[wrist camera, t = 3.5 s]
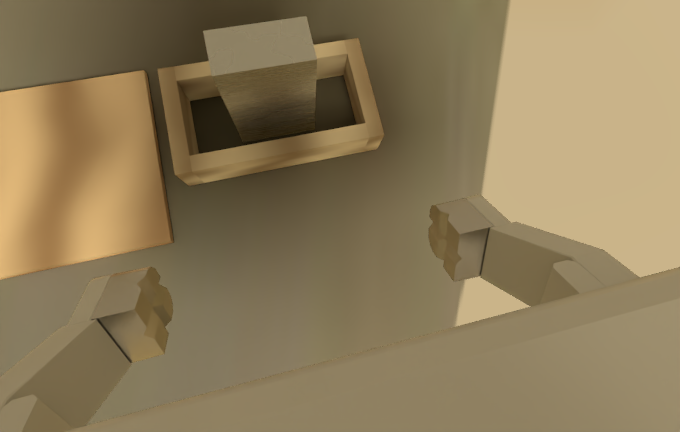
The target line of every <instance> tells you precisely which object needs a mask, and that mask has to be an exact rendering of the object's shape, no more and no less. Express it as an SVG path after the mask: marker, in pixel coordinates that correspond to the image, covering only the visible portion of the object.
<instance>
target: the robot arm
mask: <svg viewBox="0 0 680 432" xmlns="http://www.w3.org/2000/svg"><path fill="white" fill-rule="evenodd" d="M429 217H430V218H431V220H432V221H433V223H432V225H431V226H430V227H429V242H430V246H431V248H432V251H433V252H434V254H435V255H436V257H438V258H440V259H442V260H444V264H443V267H444V269H445V270H446V271H447V273H448V274H449V276H450V277H451V279H452V280H453V281H454V282H456V281H460V280H465V279H469V278H473V277H478V276H481V278H483V279H484V280H486V281H488V282H489V283H491V284H493V285H495V286H496V287H498V288H500V289H502V290H503V291H505V292H507V293H509V294H510V295H512V296H514V297H515V298H517V299H519V300H521V301H522V302H524V303H526V304H527V305H529V306H531V307H528V308H525V309H521V310H517V311H513V312H509V313H506V314H502V315H498V316H494V317H491V318H487V319H483V320H479V321H476V322H472V323H468V324H464V325H461V326H457V327H453V328H449V329H446V330H442V331H438V332H434V333H430V334H427V335H423V336H419V337H415V338H412V339H408V340H404V341H400V342H397V343H393V344H389V345H385V346H382V347H378V348H374V349H370V350H367V351H363V352H359V353H355V354H352V355H348V356H344V357H340V358H337V359H333V360H329V361H325V362H322V363H318V364H314V365H310V366H307V367H303V368H299V369H295V370H292V371H288V372H284V373H280V374H277V375H273V376H269V377H265V378H262V379H258V380H254V381H250V382H247V383H243V384H239V385H235V386H232V387H228V388H224V389H220V390H217V391H213V392H209V393H205V394H202V395H198V396H194V397H190V398H187V399H183V400H179V401H175V402H172V403H168V404H164V405H160V406H157V407H153V408H149V409H145V410H142V411H138V412H134V413H130V414H127V415H123V416H119V417H115V418H112V419H108V420H104V421H100V422H97V423H93V424H89V425H86V424H87V423H88V422H89V421H90V419H91V418H92V417H93V415H94V414H95V413H96V411H97V410H98V409H99V407H100V406H101V405H102V403H103V402H104V401H105V399H106V398H107V397H108V395H109V394H110V393H111V391H112V390H113V389H114V388H115V386H116V385H117V384H118V382H119V381H120V380H121V378H122V377H123V376H124V374H125V373H126V372H127V370H128V369H129V368H130V366H131V363H134V362H137V361H141V360H145V359H148V358H152V357H156V356H159V355H163V354H165V349H166V344H167V340H168V335H169V333H168V331H167V330H166V328H165V327H166V326H167V325H168V324H169V322H170V321H171V320H172V315H173V303H172V299H171V296H170V293H169V291H168V289H167V288H166V287H164V286H162V285H160V284H159V280H160V275H159V274H158V272H157V270H156V269H155V268H153V267H147V268H142V269H137V270H132V271H126V272H121V273H116V274H113V275H107V276H102V277H98V278H94V279H92V280H91V281H90V282H89V283H88V285H87V287H86V289H85V291H84V293H83V295H82V297H81V299H80V301H79V303H78V305H77V307H76V309H75V311H74V313H73V315H72V317H71V319H70V321H69V323H68V325H67V326H64V327H60V328H59V329H58V330H57V331H55V332H54V333H53V334H52V335H51V336H49V337H48V338H47V339H46V340H45V341H43V342H42V343H41V344H40V345H38V346H37V347H36V348H35V349H34V350H32V351H31V352H30V353H29V354H28V355H26V356H25V357H24V358H23V359H22V360H20V361H19V362H18V363H17V364H15V365H14V366H13V367H12V368H11V369H9V370H8V371H7V372H6V373H5V374H3V375H2V376H1V377H0V432H680V267H678V268H674V269H671V270H667V271H664V272H659V273H656V274H652V275H648V276H644V277H641V278H640V277H638V276H637V275H636V274H634V273H633V272H632V271H630V270H629V269H628V268H627V267H625V266H624V265H623V264H621V263H620V262H619V261H617V260H616V259H615V258H614V257H612V256H611V255H610V254H608V253H607V252H605V251H604V250H602V249H599V248H596V247H593V246H590V245H587V244H584V243H580V242H577V241H574V240H571V239H567V238H565V237H561V236H558V235H555V234H552V233H549V232H546V231H543V230H540V229H537V228H534V227H531V226H527V225H524V224H521V223H518V222H513V223H511V222H510V221H509V220H508V219H507V218H506V217H504V216H503V215H502V214H501V213H500V212H499V211H498V210H497V209H496V208H495V207H493V206H492V205H491V204H490V203H489V202H488V201H487V200H486V199H485V198H484V197H483V196H481V195H474V196H469V197H465V198H462V199H459V200H455V201H450V202H446V203H441V204H437V205H432V206H431V209H430V215H429Z"/></svg>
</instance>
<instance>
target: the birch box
mask: <svg viewBox="0 0 680 432" xmlns="http://www.w3.org/2000/svg"><path fill="white" fill-rule="evenodd" d="M314 49H315V53H316V57H317V75H316V80H318V79H324V78H330V77H336V76H342V75H344V78H345V82H346V86H347V90H348V94H349V98H350V101H351V105H352V109H353V113H354V117H355V121H356V125H352V126H347V127H342V128H336V129H331V130H326V131H320V132H315V133H309V134H304V135H299V136H293V137H288V138H282V139H277V140H272V141H266V142H261V143H256V144H250V145H245V146H239V147H234V148H229V149H223V150H218V151H213V152H207V153H202V154H199V150H198V144H197V139H196V133H195V127H194V122H193V116H192V111H191V105H190V101H192V100H198V99H204V98H210V97H216V96H221V95H220V93H219V90H218V88H217V86H216V84H215V82H214V80H213V78H212V75H211V70H210V65H209V61H206V62H199V63H193V64H186V65H180V66H173V67H167V68H161V69H158V76H159V82H160V88H161V94H162V100H163V106H164V112H165V118H166V124H167V130H168V136H169V142H170V148H171V154H172V161H173V167H174V173H175V175H176V176H177V177H178V178H180V179H181V180H182V181H183V182H185V183H186V184H187V185H188V186H191V185H197V184H202V183H207V182H212V181H217V180H222V179H227V178H232V177H237V176H242V175H247V174H253V173H258V172H263V171H268V170H273V169H278V168H283V167H288V166H293V165H298V164H304V163H309V162H314V161H319V160H324V159H329V158H334V157H339V156H344V155H349V154H355V153H360V152H365V151H370V150H375V149H377V148H378V146H379V144H380V142H381V140H382V138H383V136H384V131H383V128H382V124H381V120H380V116H379V113H378V109H377V105H376V102H375V98H374V94H373V90H372V87H371V83H370V79H369V76H368V72H367V68H366V65H365V61H364V57H363V53H362V50H361V46H360V42H359V39H358V38H355V39H348V40H342V41H335V42H329V43H322V44H316V45H314Z"/></svg>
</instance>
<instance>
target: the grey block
mask: <svg viewBox="0 0 680 432" xmlns="http://www.w3.org/2000/svg"><path fill="white" fill-rule="evenodd" d="M203 33H204V38H205V44H206V49H207V54H208V59H209V65H210V70H211V75H212V78H213V80H214V82H215V84H216V86H217V88H218V90H219V93H220V95H221V97H222V99H223V101H224V103H225V105H226V107H227V109H228V112H229V114H230V116H231V118H232V120H233V122H234V124H235V126H236V128H237V130H238V133H239V135H240V137H241V139H242V141H243V143H245V142H250V141H255V140H261V139H266V138H272V137H277V136H283V135H288V134H293V133H299V132H304V131H310V130H315V103H316V75H317V57H316V53H315V49H314V45H313V41H312V37H311V33H310V29H309V25H308V21H307V17H306V16H303V17H296V18H289V19H282V20H275V21H268V22H261V23H254V24H247V25H240V26H233V27H226V28H219V29H212V30H205V31H203Z"/></svg>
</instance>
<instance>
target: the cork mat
mask: <svg viewBox="0 0 680 432" xmlns="http://www.w3.org/2000/svg"><path fill="white" fill-rule="evenodd" d="M169 243H174V240H173V234H172V227H171V221H170V215H169V208H168V202H167V196H166V190H165V183H164V177H163V171H162V164H161V158H160V152H159V146H158V139H157V133H156V127H155V121H154V114H153V108H152V102H151V95H150V89H149V83H148V77H147V74H146V72H145V71H144V70H141V71H135V72H129V73H122V74H116V75H109V76H103V77H96V78H90V79H83V80H77V81H70V82H64V83H57V84H51V85H44V86H38V87H31V88H25V89H18V90H12V91H5V92H0V280H1V279H6V278H10V277H15V276H20V275H24V274H29V273H34V272H38V271H43V270H48V269H52V268H57V267H62V266H66V265H71V264H76V263H80V262H85V261H90V260H94V259H99V258H104V257H108V256H113V255H118V254H122V253H127V252H132V251H136V250H141V249H146V248H150V247H155V246H160V245H164V244H169Z"/></svg>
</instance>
